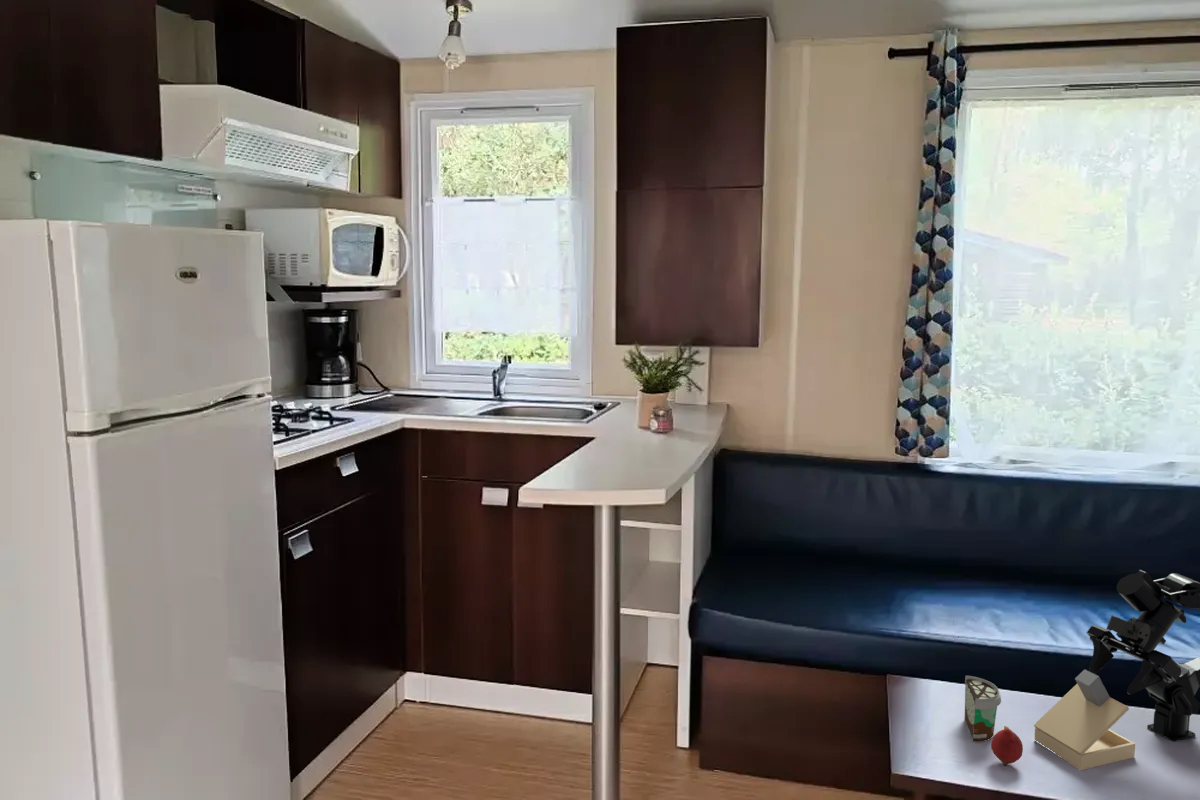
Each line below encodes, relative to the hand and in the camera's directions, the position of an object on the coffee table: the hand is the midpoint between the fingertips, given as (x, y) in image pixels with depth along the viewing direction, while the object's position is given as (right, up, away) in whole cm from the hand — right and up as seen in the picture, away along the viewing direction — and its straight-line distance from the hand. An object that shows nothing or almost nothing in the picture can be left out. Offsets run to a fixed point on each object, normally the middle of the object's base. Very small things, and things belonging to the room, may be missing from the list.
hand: (1108, 683), depth 190 cm
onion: (-23, -15, -5) cm, 28 cm away
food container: (-23, -13, +8) cm, 27 cm away
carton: (-5, -14, 0) cm, 15 cm away
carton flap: (-6, -7, -1) cm, 9 cm away
